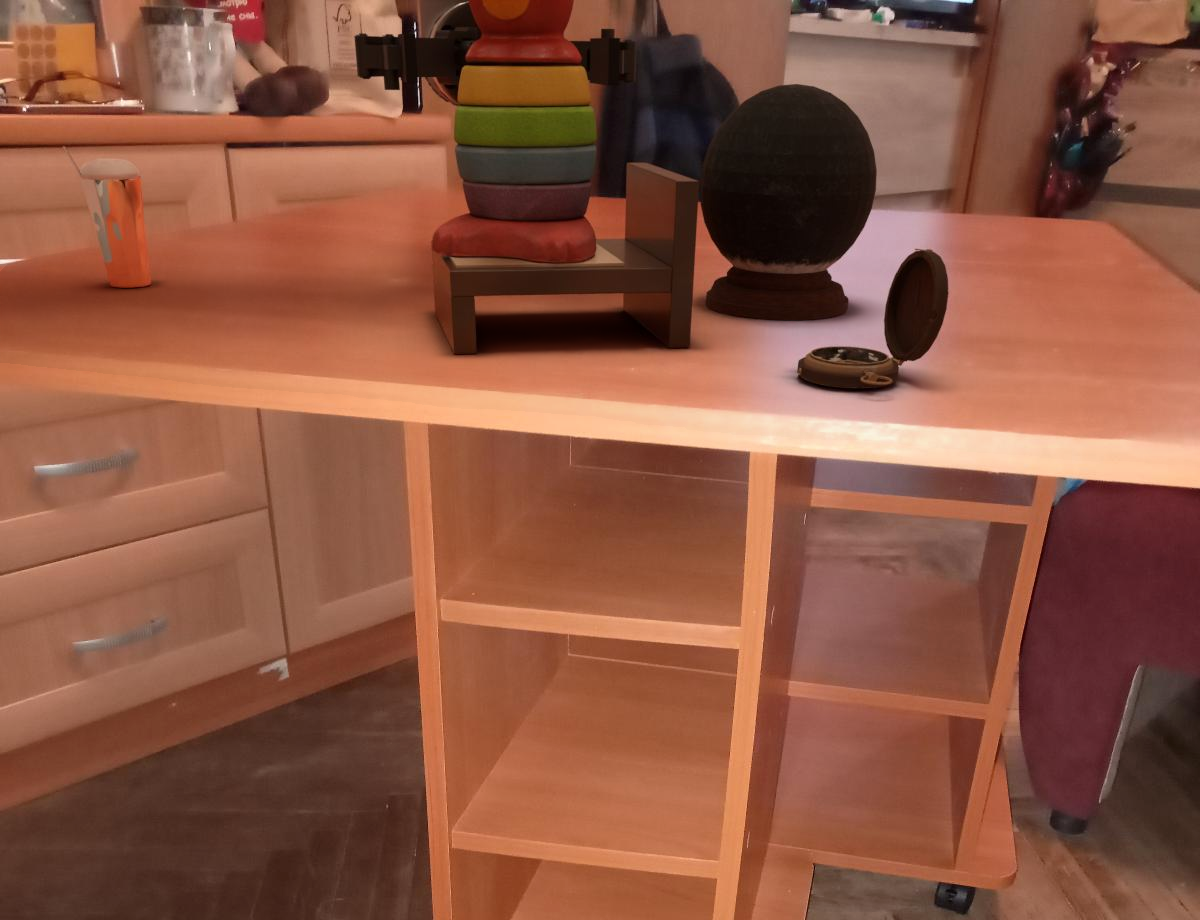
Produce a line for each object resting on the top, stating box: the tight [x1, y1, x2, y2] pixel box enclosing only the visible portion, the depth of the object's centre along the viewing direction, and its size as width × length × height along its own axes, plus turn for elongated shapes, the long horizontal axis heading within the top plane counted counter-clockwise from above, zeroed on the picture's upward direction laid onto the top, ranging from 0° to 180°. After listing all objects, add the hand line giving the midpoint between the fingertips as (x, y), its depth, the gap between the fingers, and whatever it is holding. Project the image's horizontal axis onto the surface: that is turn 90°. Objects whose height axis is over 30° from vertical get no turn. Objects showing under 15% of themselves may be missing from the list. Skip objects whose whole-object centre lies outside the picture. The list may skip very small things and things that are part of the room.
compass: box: [796, 248, 949, 390], centre depth 68 cm, size 8×8×7 cm
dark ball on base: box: [699, 83, 878, 321], centre depth 87 cm, size 13×13×15 cm
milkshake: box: [62, 145, 152, 289], centre depth 92 cm, size 4×5×10 cm
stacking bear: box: [431, 0, 598, 263], centre depth 74 cm, size 11×10×18 cm
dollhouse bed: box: [430, 162, 700, 355], centre depth 79 cm, size 16×14×10 cm
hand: (514, 60), depth 76 cm, fingers open, 13 cm apart
